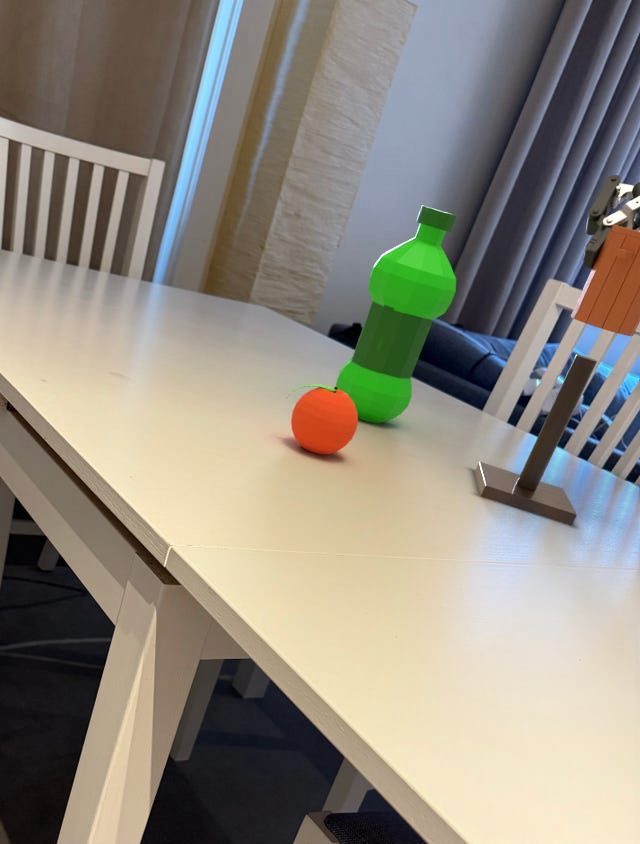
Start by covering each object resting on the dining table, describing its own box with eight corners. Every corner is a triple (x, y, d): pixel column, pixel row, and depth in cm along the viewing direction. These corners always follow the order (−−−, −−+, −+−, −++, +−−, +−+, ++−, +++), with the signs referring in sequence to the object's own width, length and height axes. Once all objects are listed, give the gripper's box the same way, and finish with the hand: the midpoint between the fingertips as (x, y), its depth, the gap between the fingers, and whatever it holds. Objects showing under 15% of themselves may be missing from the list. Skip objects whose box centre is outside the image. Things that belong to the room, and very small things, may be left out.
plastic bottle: (309, 402, 119) (379, 193, 107) (356, 403, 126) (428, 207, 114) (369, 432, 113) (451, 214, 101) (416, 431, 120) (497, 227, 108)
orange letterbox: (580, 317, 98) (621, 228, 94) (637, 336, 96) (682, 245, 91) (556, 315, 92) (599, 219, 88) (617, 336, 89) (665, 237, 85)
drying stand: (557, 500, 107) (624, 364, 100) (570, 527, 99) (645, 380, 91) (473, 473, 108) (534, 336, 101) (479, 498, 100) (546, 350, 92)
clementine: (267, 445, 96) (289, 378, 93) (279, 431, 102) (299, 368, 99) (340, 470, 95) (365, 403, 92) (348, 454, 101) (371, 391, 98)
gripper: (643, 109, 94) (557, 221, 91) (793, 142, 88) (707, 264, 84) (629, 172, 101) (549, 279, 97) (768, 208, 94) (687, 323, 91)
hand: (623, 271), depth 91 cm, fingers closed on orange letterbox, 6 cm apart
